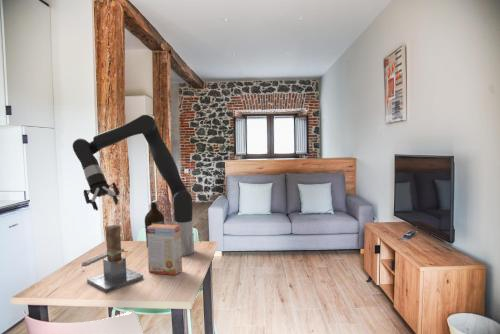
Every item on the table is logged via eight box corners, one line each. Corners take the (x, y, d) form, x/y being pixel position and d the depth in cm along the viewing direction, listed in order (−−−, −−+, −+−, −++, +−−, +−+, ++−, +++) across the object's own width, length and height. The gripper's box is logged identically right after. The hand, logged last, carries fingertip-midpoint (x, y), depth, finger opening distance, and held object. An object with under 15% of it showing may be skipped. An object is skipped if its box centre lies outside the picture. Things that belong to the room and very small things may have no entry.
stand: (123, 269, 141) (122, 249, 141) (143, 278, 131) (142, 256, 131) (87, 282, 129) (85, 260, 128) (106, 293, 119) (104, 268, 118)
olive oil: (142, 245, 176) (140, 202, 174) (160, 241, 183) (158, 200, 181) (150, 250, 168) (148, 204, 166) (168, 245, 175) (166, 202, 173)
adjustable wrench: (84, 267, 147) (84, 263, 147) (75, 265, 150) (75, 261, 149) (125, 250, 169) (125, 247, 169) (117, 249, 172) (116, 246, 172)
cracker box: (182, 270, 139) (181, 224, 138) (175, 276, 133) (173, 228, 132) (156, 267, 144) (154, 223, 142) (148, 272, 138) (146, 226, 137)
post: (117, 263, 132) (115, 224, 131) (122, 266, 130) (120, 226, 129) (107, 266, 129) (105, 226, 128) (112, 269, 127) (110, 228, 126)
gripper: (78, 176, 138) (91, 208, 134) (111, 169, 147) (124, 199, 142) (77, 184, 143) (89, 215, 139) (109, 176, 152) (121, 205, 148)
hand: (107, 206), depth 141 cm, fingers open, 8 cm apart
